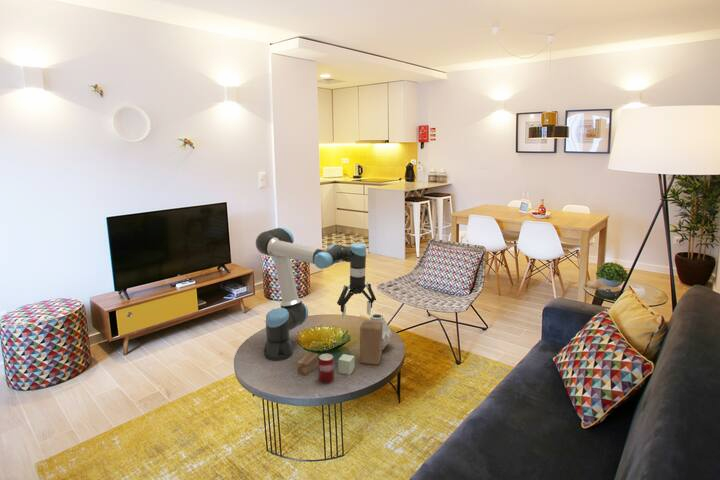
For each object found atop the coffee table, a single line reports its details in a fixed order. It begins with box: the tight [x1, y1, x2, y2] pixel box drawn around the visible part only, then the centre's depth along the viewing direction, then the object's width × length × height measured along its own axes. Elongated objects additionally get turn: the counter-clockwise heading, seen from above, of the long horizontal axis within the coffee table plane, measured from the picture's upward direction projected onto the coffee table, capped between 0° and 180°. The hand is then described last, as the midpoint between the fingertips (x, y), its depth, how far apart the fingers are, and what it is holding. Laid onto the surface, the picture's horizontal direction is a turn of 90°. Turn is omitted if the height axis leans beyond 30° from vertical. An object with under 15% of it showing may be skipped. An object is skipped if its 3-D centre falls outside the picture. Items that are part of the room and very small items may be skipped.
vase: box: [368, 313, 393, 351], centre depth 250 cm, size 16×16×18 cm
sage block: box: [337, 353, 355, 375], centre depth 227 cm, size 6×6×7 cm
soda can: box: [317, 353, 335, 385], centre depth 217 cm, size 7×7×12 cm
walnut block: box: [296, 352, 319, 377], centre depth 228 cm, size 5×12×6 cm, turn 158°
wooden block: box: [359, 319, 383, 366], centre depth 236 cm, size 10×10×20 cm
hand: (356, 315), depth 231 cm, fingers open, 13 cm apart
